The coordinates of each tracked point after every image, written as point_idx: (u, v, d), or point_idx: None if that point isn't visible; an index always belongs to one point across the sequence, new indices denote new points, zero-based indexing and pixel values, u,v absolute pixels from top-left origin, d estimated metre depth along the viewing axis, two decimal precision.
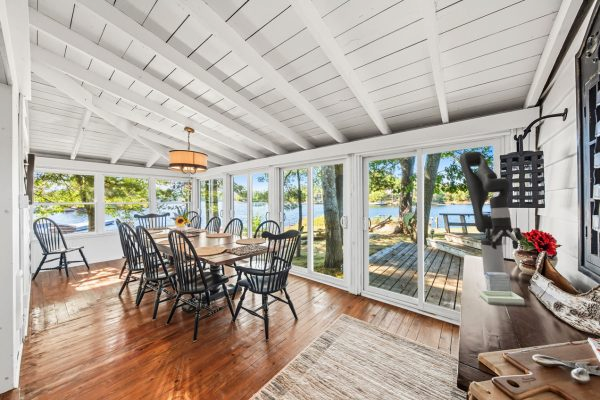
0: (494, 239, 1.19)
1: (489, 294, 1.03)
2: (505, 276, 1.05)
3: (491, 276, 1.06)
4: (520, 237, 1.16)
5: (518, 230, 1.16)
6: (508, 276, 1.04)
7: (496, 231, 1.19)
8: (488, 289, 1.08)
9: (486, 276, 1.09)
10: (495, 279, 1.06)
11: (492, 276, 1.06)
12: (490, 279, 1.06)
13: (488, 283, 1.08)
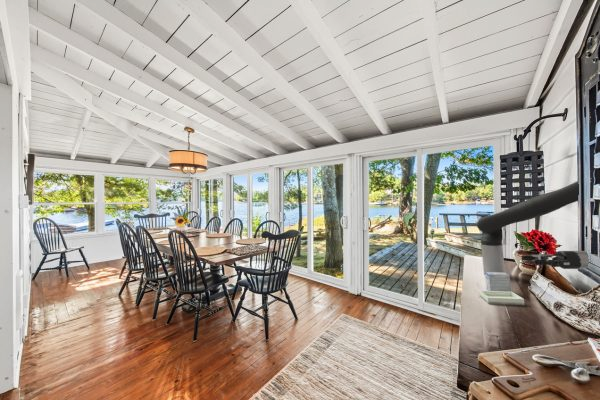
0: None
1: (489, 294, 1.03)
2: (505, 276, 1.05)
3: (491, 276, 1.06)
4: None
5: (543, 259, 1.07)
6: (508, 276, 1.04)
7: None
8: (488, 289, 1.08)
9: (486, 276, 1.09)
10: (495, 279, 1.06)
11: (492, 276, 1.06)
12: (490, 279, 1.06)
13: (488, 283, 1.08)
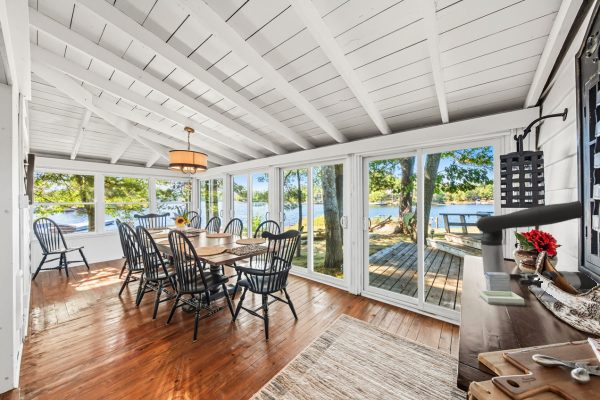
0: None
1: (489, 294, 1.03)
2: (505, 276, 1.05)
3: (491, 276, 1.06)
4: None
5: None
6: (508, 276, 1.04)
7: None
8: (488, 289, 1.08)
9: (486, 276, 1.09)
10: (495, 279, 1.06)
11: (492, 276, 1.06)
12: (490, 279, 1.06)
13: (488, 283, 1.08)
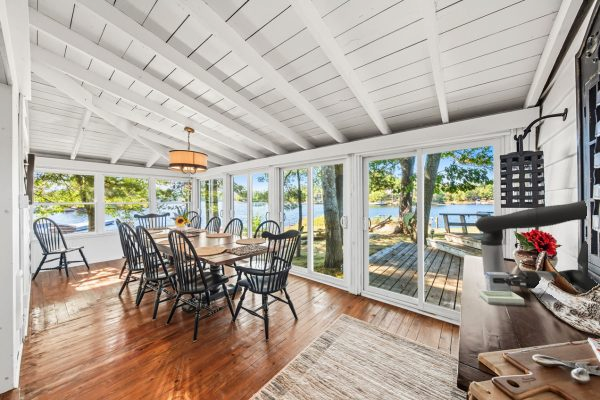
0: None
1: (489, 294, 1.03)
2: (505, 276, 1.05)
3: (491, 276, 1.06)
4: None
5: None
6: (508, 276, 1.04)
7: None
8: (488, 289, 1.08)
9: (486, 276, 1.09)
10: None
11: (492, 276, 1.06)
12: (490, 279, 1.06)
13: (488, 283, 1.08)
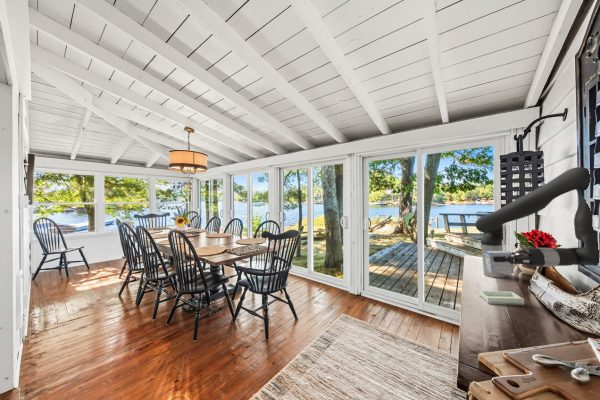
0: None
1: (489, 294, 1.03)
2: (507, 254, 0.97)
3: (491, 255, 0.99)
4: None
5: None
6: (510, 254, 0.97)
7: None
8: (488, 269, 1.01)
9: (486, 255, 1.02)
10: None
11: (493, 254, 0.99)
12: (491, 258, 0.99)
13: (488, 262, 1.00)
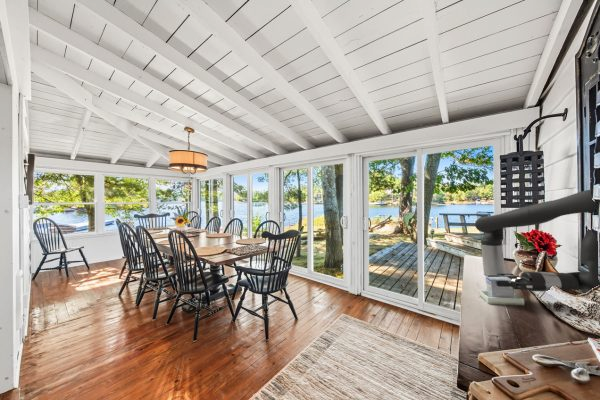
0: None
1: None
2: None
3: (493, 281, 0.97)
4: None
5: None
6: None
7: None
8: (489, 295, 0.99)
9: (487, 281, 1.00)
10: None
11: (494, 281, 0.97)
12: (492, 284, 0.97)
13: (490, 289, 0.99)
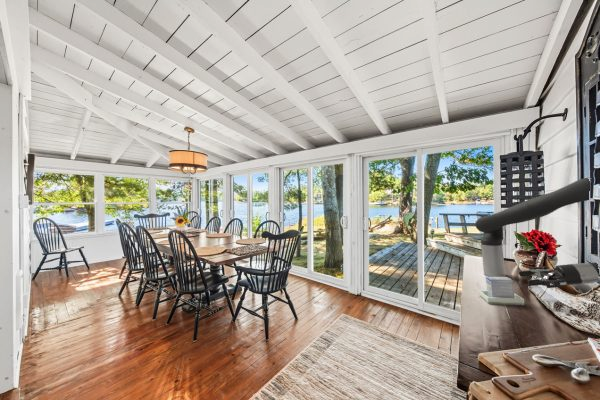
0: None
1: None
2: (508, 281, 0.96)
3: (493, 281, 0.97)
4: None
5: None
6: (511, 281, 0.96)
7: None
8: (489, 295, 0.99)
9: (487, 281, 1.00)
10: (498, 284, 0.97)
11: (494, 281, 0.97)
12: (492, 284, 0.97)
13: (490, 289, 0.99)
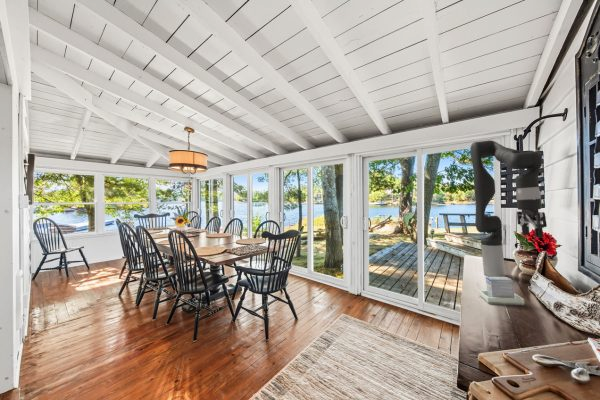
0: None
1: None
2: (508, 281, 0.96)
3: (493, 281, 0.97)
4: None
5: None
6: (511, 281, 0.96)
7: None
8: (489, 295, 0.99)
9: (487, 281, 1.00)
10: (498, 284, 0.97)
11: (494, 281, 0.97)
12: (492, 284, 0.97)
13: (490, 289, 0.99)
